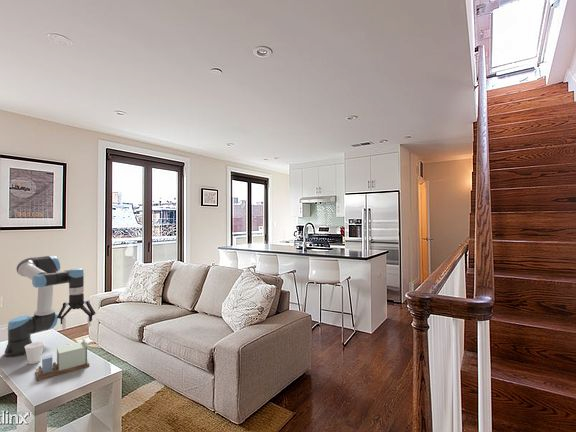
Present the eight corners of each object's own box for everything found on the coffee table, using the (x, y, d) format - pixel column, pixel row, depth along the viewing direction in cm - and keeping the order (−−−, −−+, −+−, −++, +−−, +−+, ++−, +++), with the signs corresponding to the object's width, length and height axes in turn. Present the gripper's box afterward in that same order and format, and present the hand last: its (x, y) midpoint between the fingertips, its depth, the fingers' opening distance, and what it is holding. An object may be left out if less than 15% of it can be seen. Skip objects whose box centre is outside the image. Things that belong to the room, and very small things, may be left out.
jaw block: (51, 367, 185) (51, 354, 185) (52, 370, 182) (52, 357, 182) (42, 370, 182) (42, 356, 182) (42, 373, 179) (42, 359, 179)
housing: (56, 364, 190) (56, 342, 190) (83, 357, 199) (83, 337, 199) (58, 370, 181) (58, 348, 181) (87, 363, 190) (87, 342, 190)
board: (35, 371, 184) (35, 363, 184) (85, 358, 201) (85, 351, 201) (37, 380, 173) (37, 372, 173) (89, 366, 190) (89, 359, 190)
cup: (33, 366, 190) (33, 348, 190) (20, 365, 192) (20, 347, 192) (48, 359, 200) (48, 342, 200) (36, 357, 202) (36, 341, 202)
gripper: (50, 296, 184) (50, 332, 184) (97, 293, 191) (97, 327, 191) (55, 293, 192) (56, 327, 191) (100, 290, 198) (101, 323, 198)
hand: (76, 328), depth 191 cm, fingers open, 13 cm apart
